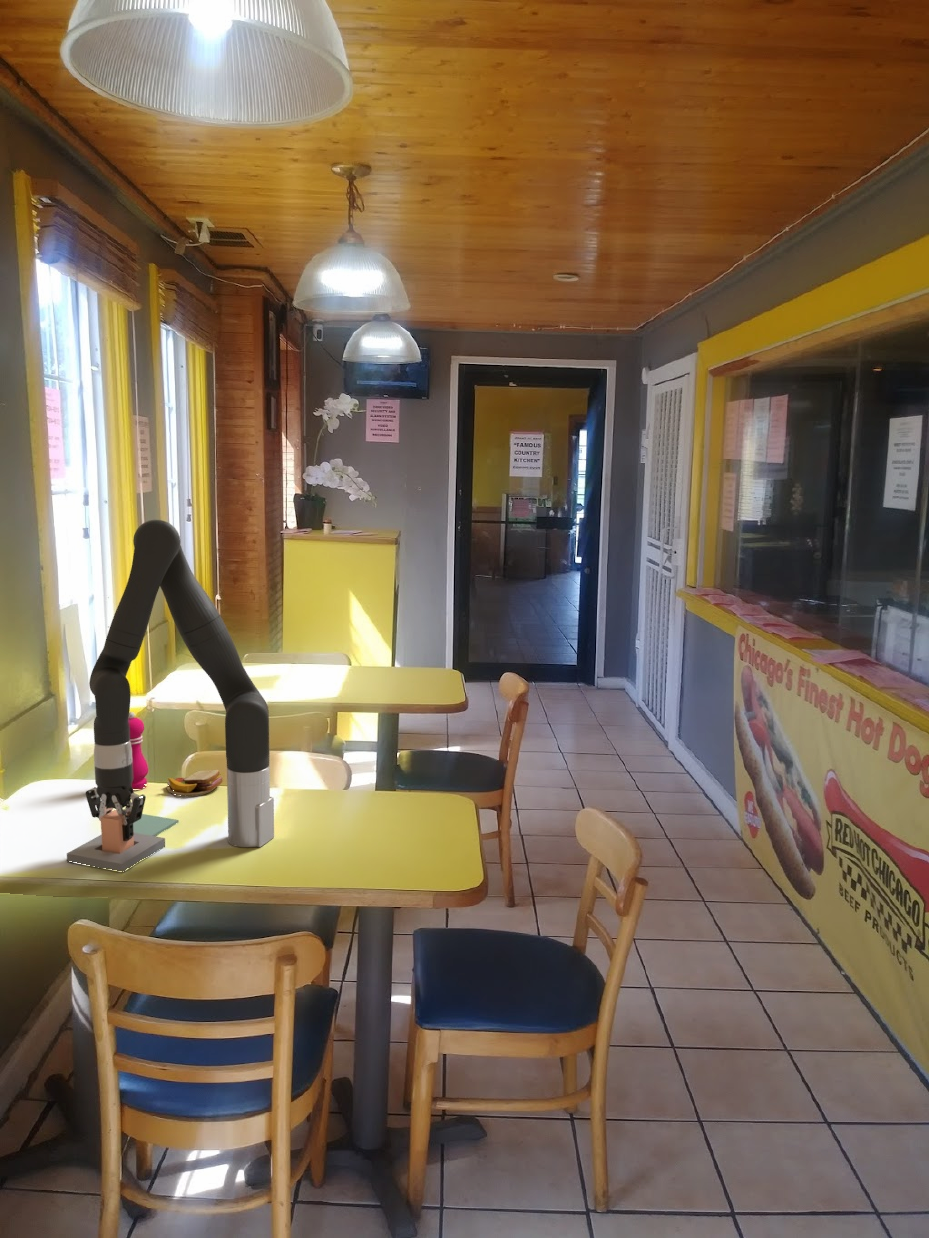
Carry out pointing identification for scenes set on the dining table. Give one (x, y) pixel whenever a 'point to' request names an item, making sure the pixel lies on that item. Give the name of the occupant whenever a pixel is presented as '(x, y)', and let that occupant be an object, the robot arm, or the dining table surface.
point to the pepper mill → (137, 752)
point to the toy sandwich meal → (195, 783)
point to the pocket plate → (120, 862)
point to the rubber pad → (152, 824)
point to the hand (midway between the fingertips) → (117, 837)
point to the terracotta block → (114, 834)
